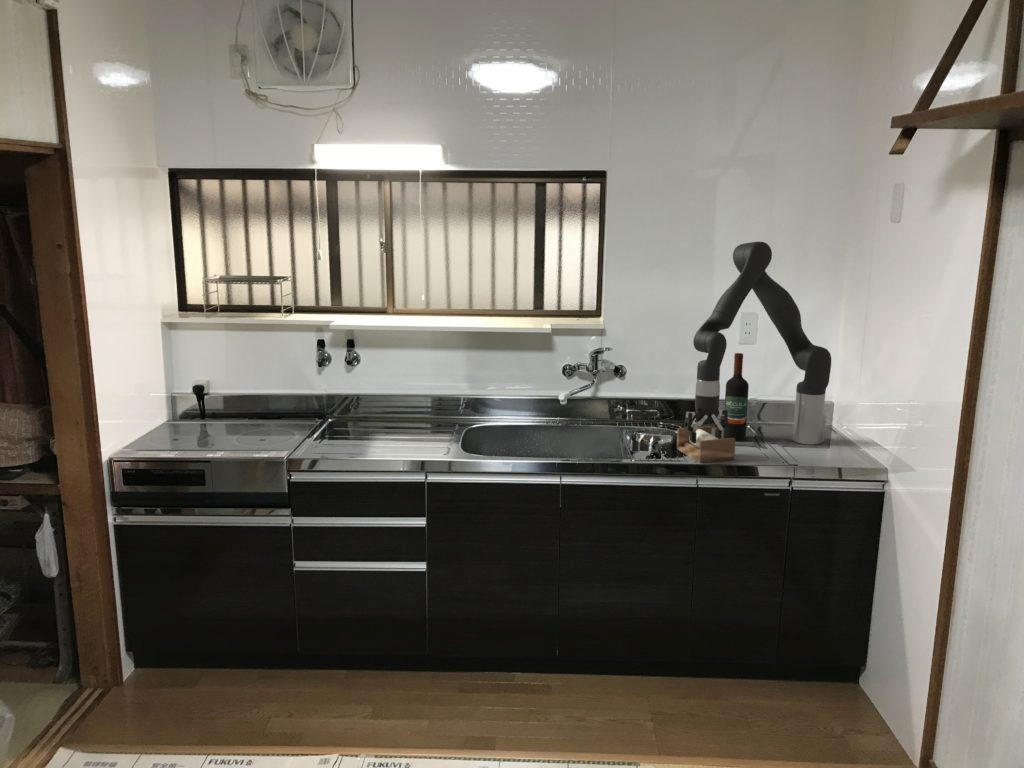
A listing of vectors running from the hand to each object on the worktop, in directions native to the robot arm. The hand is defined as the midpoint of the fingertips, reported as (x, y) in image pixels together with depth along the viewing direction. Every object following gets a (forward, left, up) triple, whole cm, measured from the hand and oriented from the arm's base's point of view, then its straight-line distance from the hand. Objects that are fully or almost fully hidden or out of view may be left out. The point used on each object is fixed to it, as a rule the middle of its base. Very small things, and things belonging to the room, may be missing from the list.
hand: (705, 441), depth 245 cm
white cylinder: (+2, 0, -2) cm, 3 cm away
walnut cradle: (0, 0, -4) cm, 4 cm away
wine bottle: (-19, -14, -4) cm, 24 cm away
